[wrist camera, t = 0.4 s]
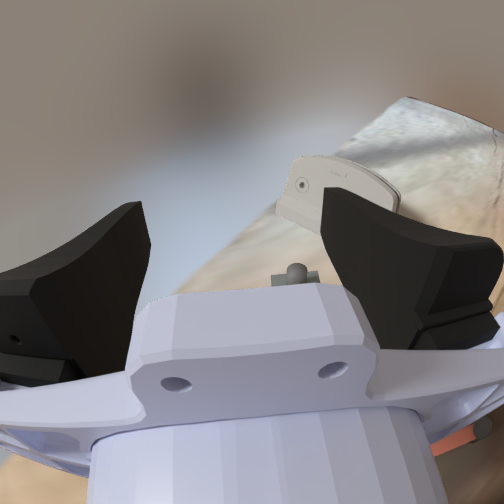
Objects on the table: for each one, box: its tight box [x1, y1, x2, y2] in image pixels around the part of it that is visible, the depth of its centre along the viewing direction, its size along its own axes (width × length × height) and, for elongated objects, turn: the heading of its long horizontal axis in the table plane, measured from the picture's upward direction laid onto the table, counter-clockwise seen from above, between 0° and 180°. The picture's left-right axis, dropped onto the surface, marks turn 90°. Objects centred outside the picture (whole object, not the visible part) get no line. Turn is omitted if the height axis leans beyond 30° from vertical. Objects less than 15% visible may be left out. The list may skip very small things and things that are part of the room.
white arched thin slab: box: [275, 155, 401, 236], centre depth 38 cm, size 17×5×10 cm, turn 47°
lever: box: [430, 416, 493, 456], centre depth 16 cm, size 3×14×2 cm, turn 92°
